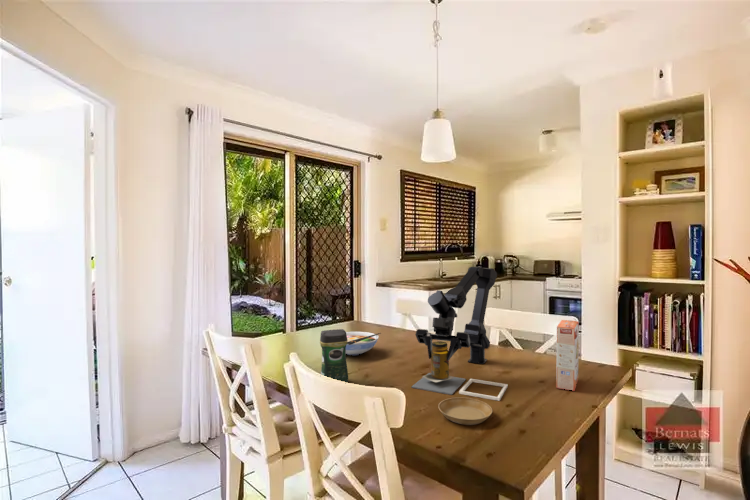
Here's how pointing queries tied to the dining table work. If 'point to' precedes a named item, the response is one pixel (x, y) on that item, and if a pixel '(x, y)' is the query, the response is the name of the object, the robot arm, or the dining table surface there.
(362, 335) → the ramen bowl
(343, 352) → the coffee jar
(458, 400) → the plant saucer
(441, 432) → the dining table surface
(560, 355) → the cracker box
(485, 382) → the ceramic frame
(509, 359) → the dining table surface
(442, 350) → the condiment
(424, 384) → the rubber mat
